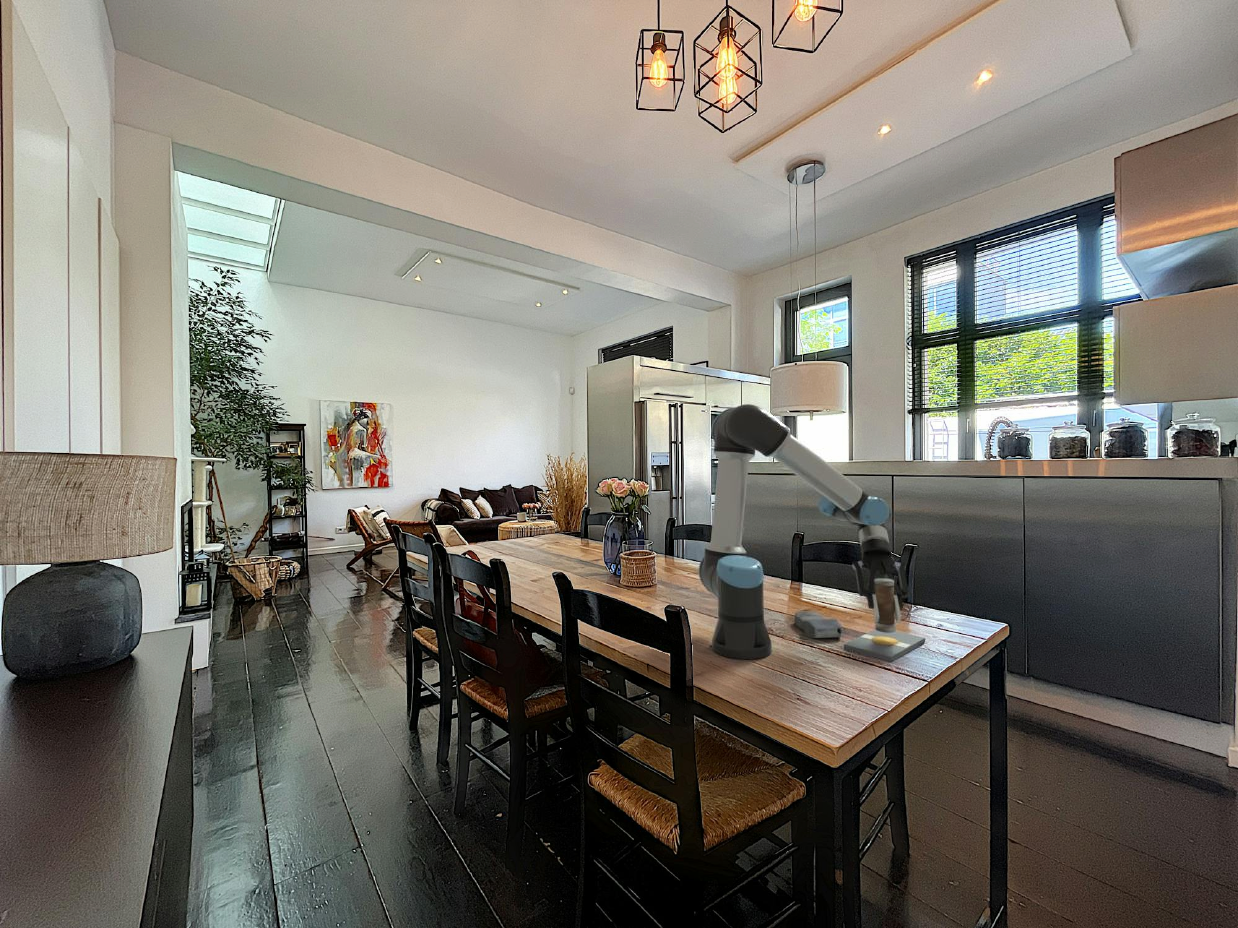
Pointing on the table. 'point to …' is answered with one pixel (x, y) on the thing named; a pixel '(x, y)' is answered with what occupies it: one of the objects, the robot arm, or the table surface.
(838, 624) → the handheld device
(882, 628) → the tall brown post
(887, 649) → the board
